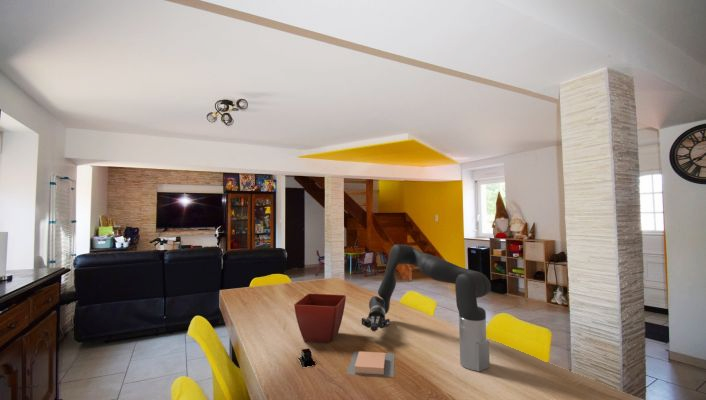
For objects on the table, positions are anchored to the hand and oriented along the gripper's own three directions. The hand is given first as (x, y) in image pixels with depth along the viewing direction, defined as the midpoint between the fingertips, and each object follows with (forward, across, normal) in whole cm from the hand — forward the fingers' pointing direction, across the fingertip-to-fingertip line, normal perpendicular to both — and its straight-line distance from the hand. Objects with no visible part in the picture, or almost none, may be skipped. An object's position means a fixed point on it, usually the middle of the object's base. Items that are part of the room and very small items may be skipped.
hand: (373, 329), depth 132 cm
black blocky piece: (+14, -24, +9) cm, 30 cm away
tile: (+10, 0, +6) cm, 12 cm away
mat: (+14, 0, +8) cm, 16 cm away
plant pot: (-10, -24, +8) cm, 28 cm away
